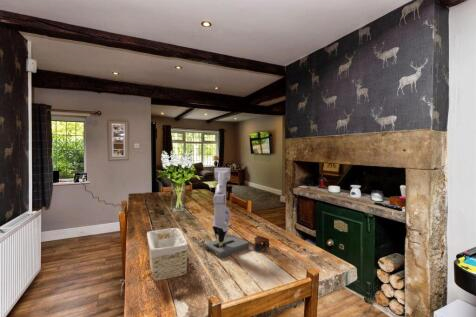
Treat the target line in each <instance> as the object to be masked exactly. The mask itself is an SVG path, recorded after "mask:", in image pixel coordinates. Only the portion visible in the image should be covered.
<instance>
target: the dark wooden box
mask: <svg viewBox="0 0 476 317" xmlns="http://www.w3.org/2000/svg"><path fill="white" fill-rule="evenodd" d="M269 248H270V238H268V237H264V236H260V235H256V238H254V245H253V247H252V251H256V252H258V253H262V251H263V252H265V251H267V250H268V249H269Z"/></svg>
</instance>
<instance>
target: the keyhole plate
mask: <svg viewBox="0 0 476 317" xmlns="http://www.w3.org/2000/svg"><path fill="white" fill-rule="evenodd" d="M217 247H219V243H218V242H217V241H216V239H215V240H213V241H209V242H206V243H204V251H206V252H208V251H214V252H215V253H216V254H217V255H216V256H217V259H219V260H222V259H224V258H227V257H229V256H232V255H234V254H238V253H241V252H242V251H246V250H249V249H248V248H249V241H246V240H244V239H242V238H241V237H238V236H236V235H233V234H232V235H231V236H228V237H225V242H223V247H222V248H219V249H218V248H217Z"/></svg>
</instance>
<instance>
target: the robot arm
mask: <svg viewBox="0 0 476 317" xmlns="http://www.w3.org/2000/svg"><path fill="white" fill-rule="evenodd" d="M213 171H214V179H215V181H217V184H216V186H215V190H214V191H215V192H214V195H213V199H212V201H213V208H214V209H213V210H214V211H213V212H214V214H213V215H214V217H213V218H214V219H213V220H212V227H211V228H212V229H213V233H212V235H213V236H214V237H215V238H216V234H218V236H219V242H223V241H224V237H229V236H232V235H231V234H230V233H229V222H230V221H231V210H230V208H229V207H228V206H227V182H228V181H230V179H231V168H230V167H215V168H214V170H213Z"/></svg>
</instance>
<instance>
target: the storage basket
mask: <svg viewBox="0 0 476 317" xmlns="http://www.w3.org/2000/svg"><path fill="white" fill-rule="evenodd" d="M165 235H166V236H167V235H169V237H167V238H162V239H161V238H159V236H165ZM146 237H147V243H148V244H147V245H148V252H149V253H148V255H149V256H148V257H149V265H150V271H151V277H152V279H153V280H154V281H155V282H158V281H163V280H166V279H172V278H176V277H182V276H183V275H186V274H187V271H188V270H187V269H188V268H187V265H188V250H189V243H188V241H187V239H186V237H185V236H184V234H183V232H182V230H181V229H180V228H178V227H173V228H172V227H171V228H164V229H156V230H151V231H150V230H149V231H147V233H146Z"/></svg>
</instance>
